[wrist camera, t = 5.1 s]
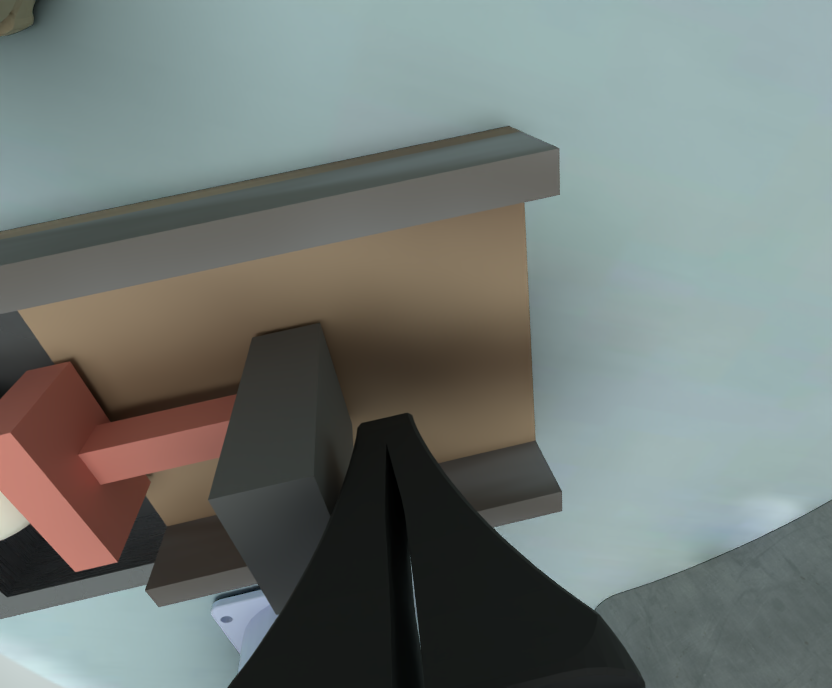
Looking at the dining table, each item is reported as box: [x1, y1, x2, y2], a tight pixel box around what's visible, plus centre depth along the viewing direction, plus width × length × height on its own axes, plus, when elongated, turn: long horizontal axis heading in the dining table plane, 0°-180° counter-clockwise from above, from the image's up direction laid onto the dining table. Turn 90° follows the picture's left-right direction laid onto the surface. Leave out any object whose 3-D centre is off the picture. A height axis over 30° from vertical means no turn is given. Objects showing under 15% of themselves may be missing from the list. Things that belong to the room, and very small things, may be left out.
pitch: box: [0, 126, 562, 607], centre depth 15 cm, size 12×14×4 cm
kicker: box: [0, 323, 353, 615], centre depth 13 cm, size 5×8×6 cm, turn 100°
